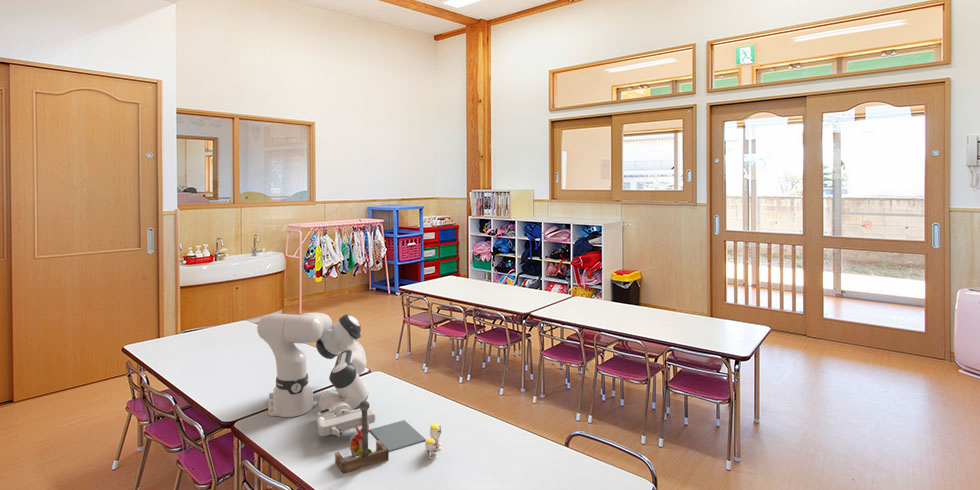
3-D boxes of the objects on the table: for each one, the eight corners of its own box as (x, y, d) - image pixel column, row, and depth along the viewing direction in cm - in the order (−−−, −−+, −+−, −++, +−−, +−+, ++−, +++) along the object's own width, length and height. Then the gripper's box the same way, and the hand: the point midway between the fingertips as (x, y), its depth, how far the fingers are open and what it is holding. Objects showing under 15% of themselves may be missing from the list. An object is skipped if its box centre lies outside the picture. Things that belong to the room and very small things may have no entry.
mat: (369, 430, 197) (369, 429, 197) (404, 421, 205) (404, 420, 205) (389, 451, 182) (389, 450, 182) (425, 440, 190) (425, 439, 190)
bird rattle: (347, 465, 177) (364, 463, 172) (337, 432, 178) (354, 429, 173) (361, 457, 182) (378, 455, 177) (351, 425, 184) (368, 422, 178)
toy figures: (436, 461, 177) (436, 437, 176) (423, 459, 177) (423, 436, 176) (444, 443, 189) (444, 420, 187) (432, 442, 189) (432, 419, 188)
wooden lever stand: (335, 462, 175) (333, 398, 172) (379, 449, 183) (378, 388, 180) (344, 475, 168) (342, 408, 165) (389, 461, 176) (388, 397, 173)
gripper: (367, 416, 202) (382, 430, 191) (313, 430, 191) (325, 447, 179) (367, 400, 201) (381, 414, 190) (312, 413, 190) (324, 429, 178)
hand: (353, 430), depth 184 cm, fingers open, 8 cm apart
